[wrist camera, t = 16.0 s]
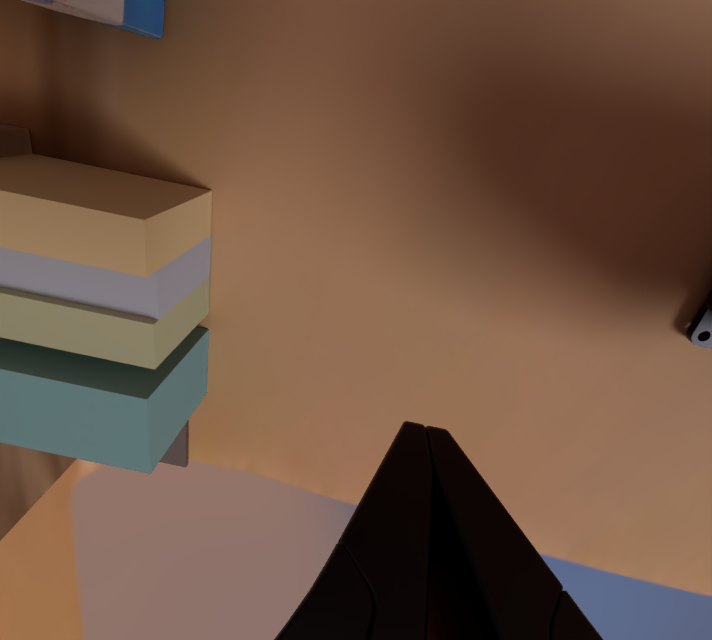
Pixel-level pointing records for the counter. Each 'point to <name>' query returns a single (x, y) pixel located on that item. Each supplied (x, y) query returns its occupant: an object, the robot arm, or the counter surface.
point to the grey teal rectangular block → (99, 402)
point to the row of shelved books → (101, 259)
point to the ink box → (115, 13)
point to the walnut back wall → (14, 463)
